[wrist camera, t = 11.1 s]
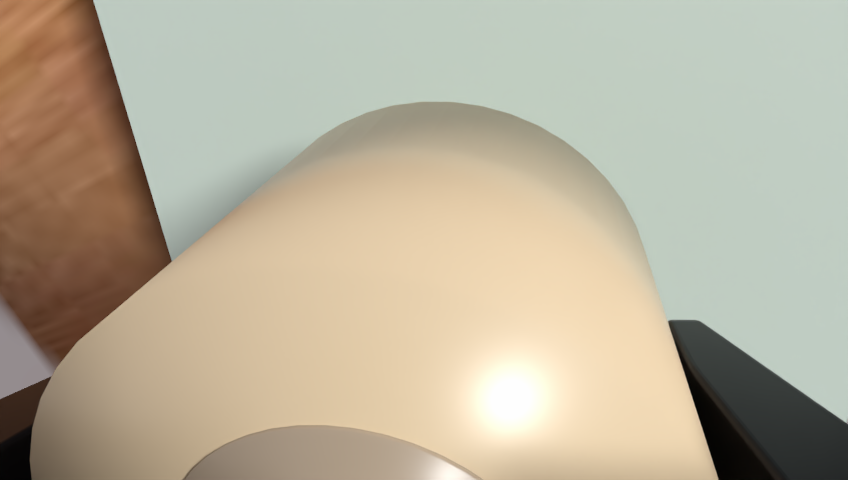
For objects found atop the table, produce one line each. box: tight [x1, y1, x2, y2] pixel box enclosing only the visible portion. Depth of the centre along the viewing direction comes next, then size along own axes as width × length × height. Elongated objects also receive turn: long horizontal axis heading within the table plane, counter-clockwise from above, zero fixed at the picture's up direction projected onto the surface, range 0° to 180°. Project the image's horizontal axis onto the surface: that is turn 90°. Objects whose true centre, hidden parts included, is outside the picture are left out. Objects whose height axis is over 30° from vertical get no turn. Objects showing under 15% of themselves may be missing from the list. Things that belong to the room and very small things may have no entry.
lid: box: [93, 0, 848, 423], centre depth 13 cm, size 14×16×1 cm
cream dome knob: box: [30, 102, 719, 480], centre depth 8 cm, size 6×6×5 cm
